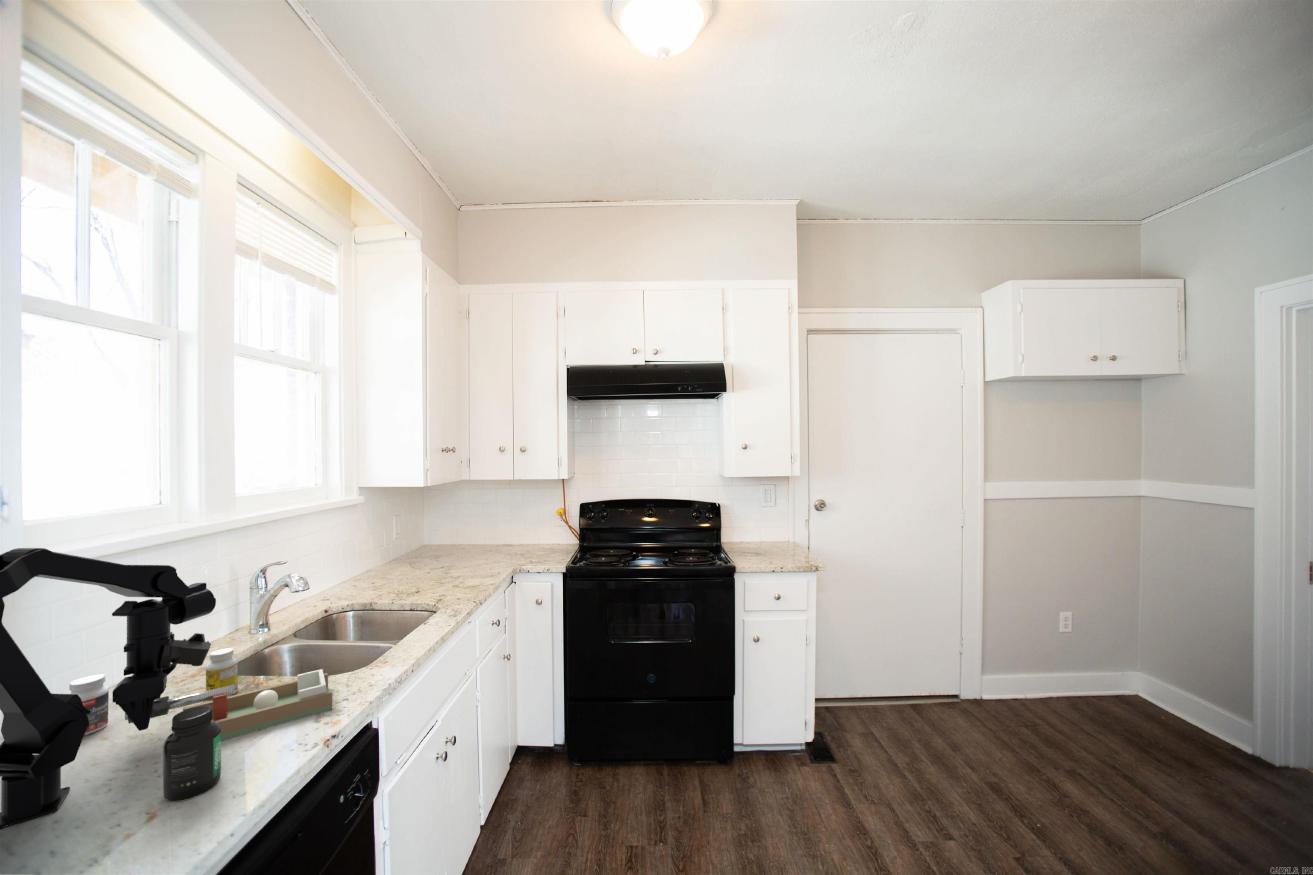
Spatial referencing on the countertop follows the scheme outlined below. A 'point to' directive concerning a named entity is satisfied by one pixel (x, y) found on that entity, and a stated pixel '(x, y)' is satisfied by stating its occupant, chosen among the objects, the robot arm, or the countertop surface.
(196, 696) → the rod
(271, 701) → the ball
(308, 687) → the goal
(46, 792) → the robot arm
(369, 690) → the countertop surface
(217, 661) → the supplement bottle
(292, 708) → the tray
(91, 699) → the pill bottle
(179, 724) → the supplement bottle
